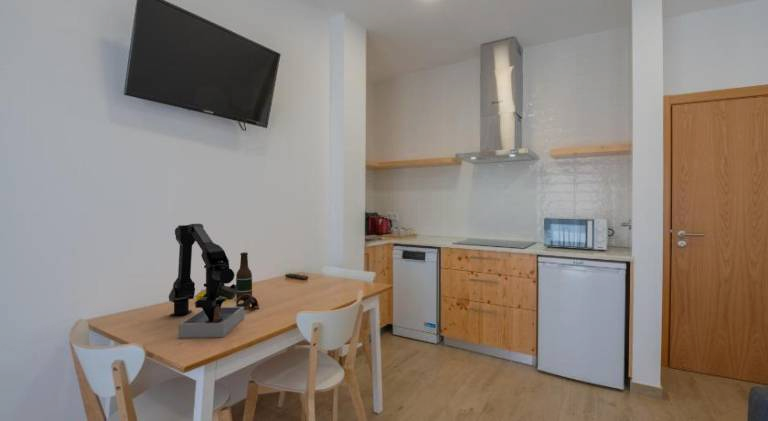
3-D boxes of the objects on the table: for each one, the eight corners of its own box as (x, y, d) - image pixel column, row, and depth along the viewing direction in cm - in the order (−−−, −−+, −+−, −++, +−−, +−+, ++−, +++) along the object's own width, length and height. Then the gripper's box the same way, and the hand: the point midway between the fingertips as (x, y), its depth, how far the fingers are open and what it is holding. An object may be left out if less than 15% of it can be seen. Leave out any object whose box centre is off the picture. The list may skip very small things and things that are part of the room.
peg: (210, 321, 142) (210, 304, 142) (221, 321, 142) (221, 304, 142) (206, 325, 138) (206, 307, 138) (216, 325, 138) (216, 307, 138)
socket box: (205, 318, 151) (205, 307, 151) (244, 318, 152) (244, 306, 152) (178, 337, 129) (178, 324, 129) (223, 337, 130) (223, 323, 130)
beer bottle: (255, 298, 185) (255, 252, 185) (242, 301, 179) (242, 254, 178) (245, 296, 189) (245, 251, 189) (232, 299, 183) (232, 252, 183)
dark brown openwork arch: (262, 311, 164) (254, 297, 161) (242, 322, 161) (234, 309, 157) (257, 299, 174) (249, 286, 170) (238, 309, 171) (230, 296, 167)
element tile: (194, 304, 175) (194, 294, 175) (202, 297, 189) (202, 288, 189) (227, 302, 178) (227, 293, 178) (232, 295, 193) (232, 286, 193)
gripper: (225, 285, 131) (225, 327, 131) (242, 275, 150) (242, 312, 150) (194, 285, 131) (194, 327, 131) (215, 275, 149) (215, 312, 149)
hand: (213, 319), depth 140 cm, fingers closed on peg, 4 cm apart
